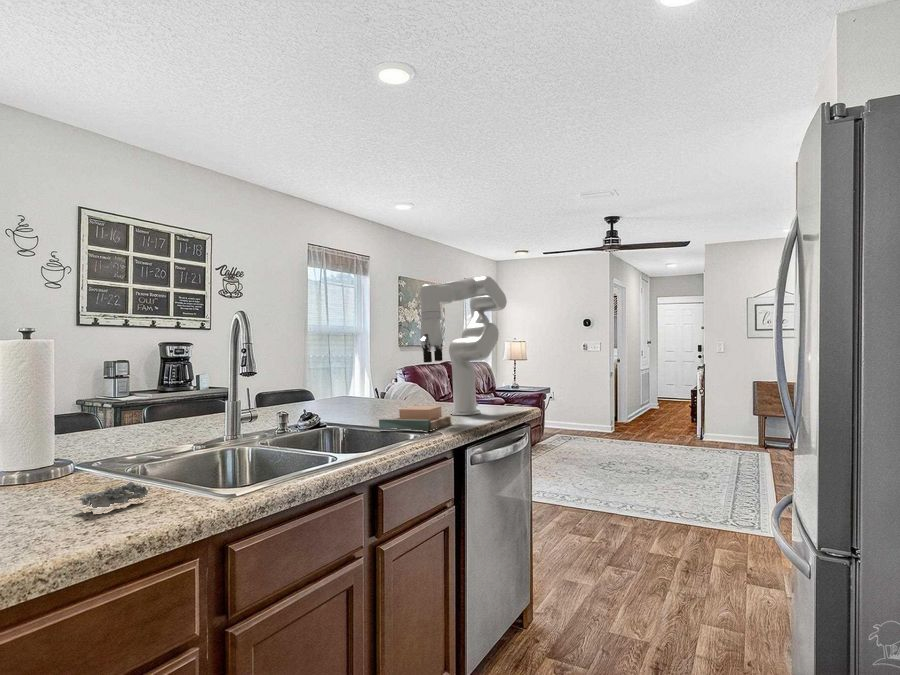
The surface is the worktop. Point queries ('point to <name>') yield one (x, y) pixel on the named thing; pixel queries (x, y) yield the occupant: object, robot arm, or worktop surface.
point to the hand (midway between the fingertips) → (433, 361)
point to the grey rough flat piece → (114, 495)
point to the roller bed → (414, 423)
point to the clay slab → (421, 412)
